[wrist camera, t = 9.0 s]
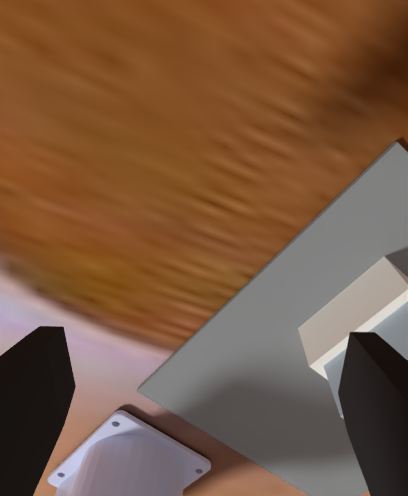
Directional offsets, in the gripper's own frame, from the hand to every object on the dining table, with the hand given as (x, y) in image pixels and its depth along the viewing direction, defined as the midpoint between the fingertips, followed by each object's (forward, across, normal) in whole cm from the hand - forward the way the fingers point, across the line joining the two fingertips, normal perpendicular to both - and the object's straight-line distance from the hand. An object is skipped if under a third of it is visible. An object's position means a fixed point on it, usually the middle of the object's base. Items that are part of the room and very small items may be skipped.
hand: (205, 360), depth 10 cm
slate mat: (+10, -9, +10) cm, 17 cm away
